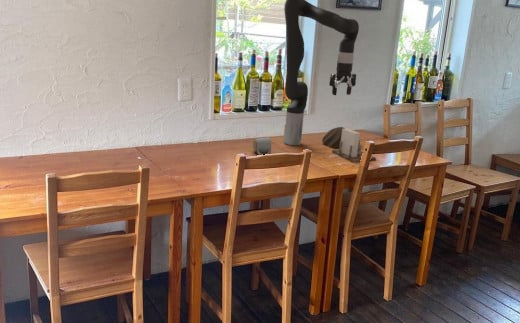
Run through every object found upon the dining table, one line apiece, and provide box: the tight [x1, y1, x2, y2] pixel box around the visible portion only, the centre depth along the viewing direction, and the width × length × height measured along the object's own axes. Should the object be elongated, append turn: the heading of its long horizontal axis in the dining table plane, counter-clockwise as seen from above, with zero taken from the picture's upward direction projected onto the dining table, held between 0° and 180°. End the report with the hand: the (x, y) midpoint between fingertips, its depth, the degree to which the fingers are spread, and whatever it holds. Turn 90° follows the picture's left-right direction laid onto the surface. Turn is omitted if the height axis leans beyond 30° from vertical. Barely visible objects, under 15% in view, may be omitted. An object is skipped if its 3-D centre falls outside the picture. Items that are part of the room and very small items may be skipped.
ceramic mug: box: [252, 137, 272, 156], centre depth 239 cm, size 11×8×8 cm
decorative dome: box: [322, 126, 345, 150], centre depth 265 cm, size 19×20×10 cm
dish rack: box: [331, 139, 377, 164], centre depth 244 cm, size 18×14×7 cm
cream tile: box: [341, 127, 360, 157], centre depth 243 cm, size 10×3×12 cm, turn 28°
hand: (341, 94), depth 240 cm, fingers open, 8 cm apart
